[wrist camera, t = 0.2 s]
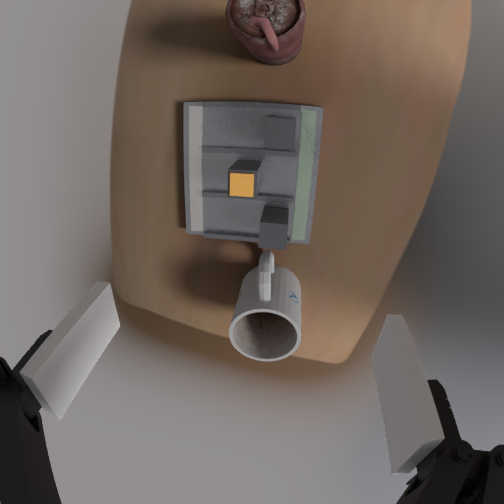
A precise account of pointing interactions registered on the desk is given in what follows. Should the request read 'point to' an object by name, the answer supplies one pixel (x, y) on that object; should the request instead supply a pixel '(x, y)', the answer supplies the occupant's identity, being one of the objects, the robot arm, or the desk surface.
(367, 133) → the desk surface
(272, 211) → the breaker
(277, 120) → the block
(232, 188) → the block
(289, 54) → the can
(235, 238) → the panel
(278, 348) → the mug
